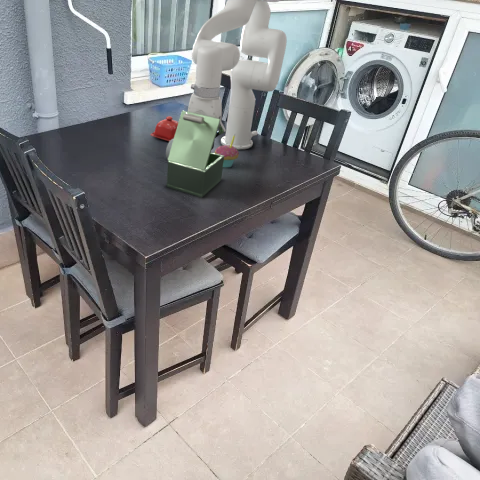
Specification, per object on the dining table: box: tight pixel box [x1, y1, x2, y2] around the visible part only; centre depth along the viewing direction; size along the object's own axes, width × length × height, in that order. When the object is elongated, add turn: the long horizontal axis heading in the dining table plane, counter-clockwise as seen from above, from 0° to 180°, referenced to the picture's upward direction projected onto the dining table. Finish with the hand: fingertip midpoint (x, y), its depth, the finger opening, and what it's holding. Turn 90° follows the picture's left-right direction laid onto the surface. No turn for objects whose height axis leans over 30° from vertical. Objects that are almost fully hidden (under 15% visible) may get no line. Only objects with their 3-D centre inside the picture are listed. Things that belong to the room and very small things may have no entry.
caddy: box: [166, 151, 224, 198], centre depth 145 cm, size 15×13×9 cm
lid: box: [167, 110, 220, 171], centre depth 133 cm, size 16×13×6 cm
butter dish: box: [150, 115, 179, 142], centre depth 178 cm, size 12×12×8 cm
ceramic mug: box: [165, 139, 174, 160], centre depth 160 cm, size 11×8×8 cm
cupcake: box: [214, 135, 240, 168], centre depth 157 cm, size 9×8×12 cm
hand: (201, 147), depth 143 cm, fingers closed on block, 5 cm apart
